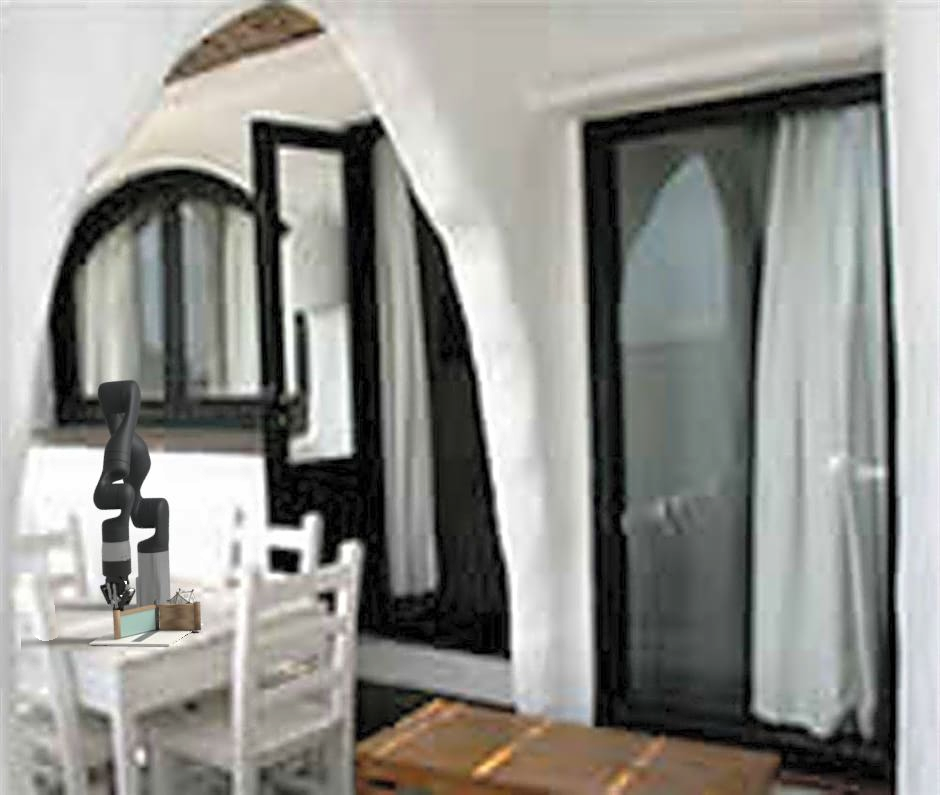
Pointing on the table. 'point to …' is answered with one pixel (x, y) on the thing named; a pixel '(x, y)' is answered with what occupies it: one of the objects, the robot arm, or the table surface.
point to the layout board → (143, 638)
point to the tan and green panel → (134, 621)
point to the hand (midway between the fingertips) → (118, 621)
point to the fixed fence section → (178, 616)
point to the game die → (183, 597)
